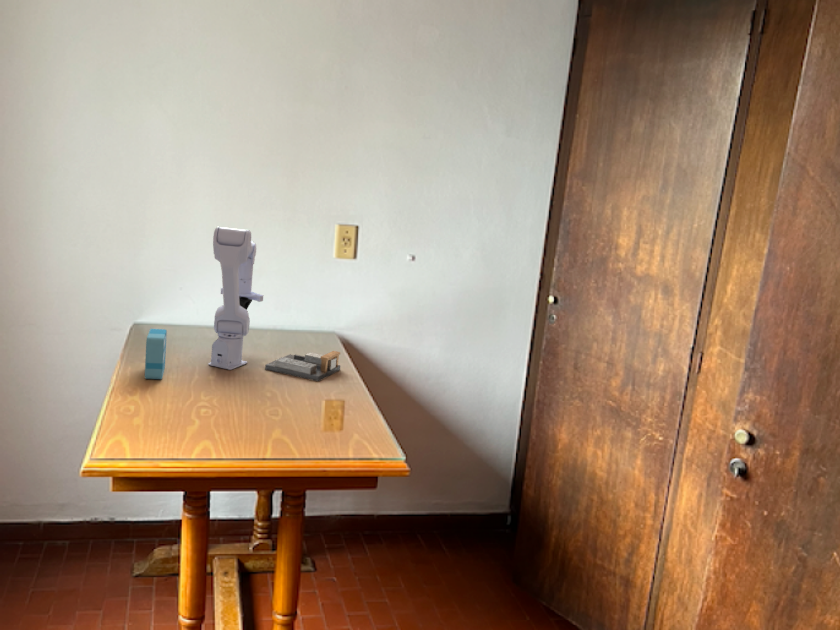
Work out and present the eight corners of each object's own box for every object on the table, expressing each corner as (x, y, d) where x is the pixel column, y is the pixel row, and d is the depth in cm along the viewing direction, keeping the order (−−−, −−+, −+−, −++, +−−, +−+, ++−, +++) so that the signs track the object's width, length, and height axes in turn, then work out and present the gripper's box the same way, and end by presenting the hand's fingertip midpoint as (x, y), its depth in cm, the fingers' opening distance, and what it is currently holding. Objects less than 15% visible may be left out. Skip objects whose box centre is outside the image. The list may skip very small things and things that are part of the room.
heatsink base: (318, 381, 231) (319, 362, 230) (265, 369, 237) (266, 350, 236) (340, 370, 245) (341, 352, 244) (289, 358, 251) (291, 341, 249)
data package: (161, 381, 216) (163, 339, 213) (144, 380, 214) (146, 338, 212) (164, 368, 227) (166, 328, 224) (148, 367, 226) (150, 327, 223)
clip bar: (330, 369, 239) (331, 360, 238) (304, 363, 241) (305, 354, 241) (335, 367, 242) (336, 357, 241) (309, 361, 245) (310, 352, 244)
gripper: (269, 280, 249) (266, 321, 252) (230, 272, 254) (227, 313, 257) (257, 283, 243) (254, 325, 246) (217, 275, 247) (215, 317, 250)
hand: (240, 319), depth 251 cm, fingers closed
